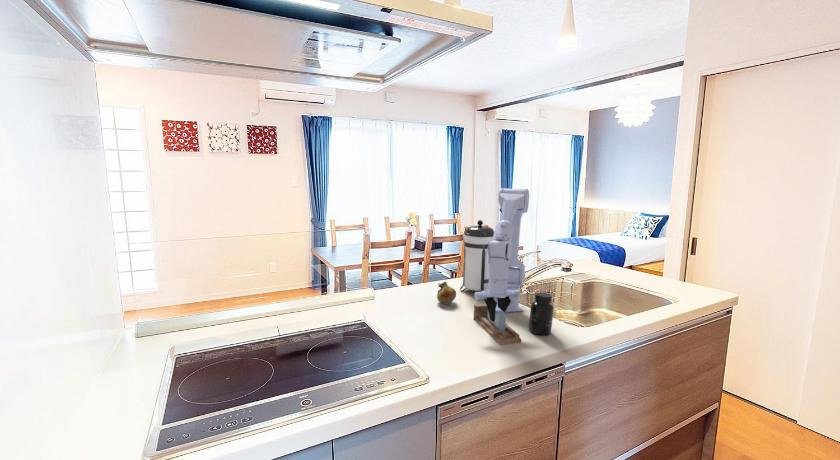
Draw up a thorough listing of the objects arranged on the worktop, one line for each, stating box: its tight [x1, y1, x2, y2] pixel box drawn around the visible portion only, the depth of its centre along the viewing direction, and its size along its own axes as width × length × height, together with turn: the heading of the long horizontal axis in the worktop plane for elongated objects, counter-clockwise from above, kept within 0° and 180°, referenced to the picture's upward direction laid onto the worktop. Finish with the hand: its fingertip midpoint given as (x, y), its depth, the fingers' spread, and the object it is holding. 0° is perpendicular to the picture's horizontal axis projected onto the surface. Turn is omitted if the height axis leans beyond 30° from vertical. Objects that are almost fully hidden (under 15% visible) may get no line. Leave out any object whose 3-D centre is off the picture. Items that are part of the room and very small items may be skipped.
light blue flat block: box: [487, 306, 507, 332], centre depth 122 cm, size 9×2×6 cm, turn 14°
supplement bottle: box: [528, 292, 555, 336], centre depth 120 cm, size 7×7×12 cm
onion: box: [436, 281, 457, 305], centre depth 146 cm, size 8×8×8 cm
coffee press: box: [459, 219, 495, 292], centre depth 160 cm, size 17×16×30 cm
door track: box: [473, 303, 522, 345], centre depth 122 cm, size 20×7×5 cm, turn 14°
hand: (496, 319), depth 122 cm, fingers open, 2 cm apart
